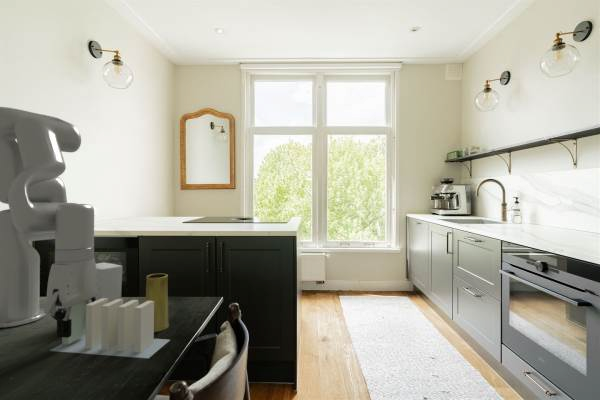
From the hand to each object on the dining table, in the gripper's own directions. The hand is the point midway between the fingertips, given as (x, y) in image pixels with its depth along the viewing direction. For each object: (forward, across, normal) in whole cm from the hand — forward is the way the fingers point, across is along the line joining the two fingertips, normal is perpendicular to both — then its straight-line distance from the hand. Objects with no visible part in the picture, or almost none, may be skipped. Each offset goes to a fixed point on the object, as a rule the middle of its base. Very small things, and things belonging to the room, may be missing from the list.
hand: (74, 330), depth 74 cm
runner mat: (+3, 0, +10) cm, 10 cm away
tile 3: (+3, 0, +10) cm, 10 cm away
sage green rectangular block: (+2, 0, 0) cm, 2 cm away
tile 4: (+3, 0, +14) cm, 14 cm away
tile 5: (+3, 0, +18) cm, 18 cm away
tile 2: (+3, 0, +6) cm, 7 cm away
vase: (+3, -11, +14) cm, 18 cm away
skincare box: (+3, -15, -5) cm, 16 cm away
